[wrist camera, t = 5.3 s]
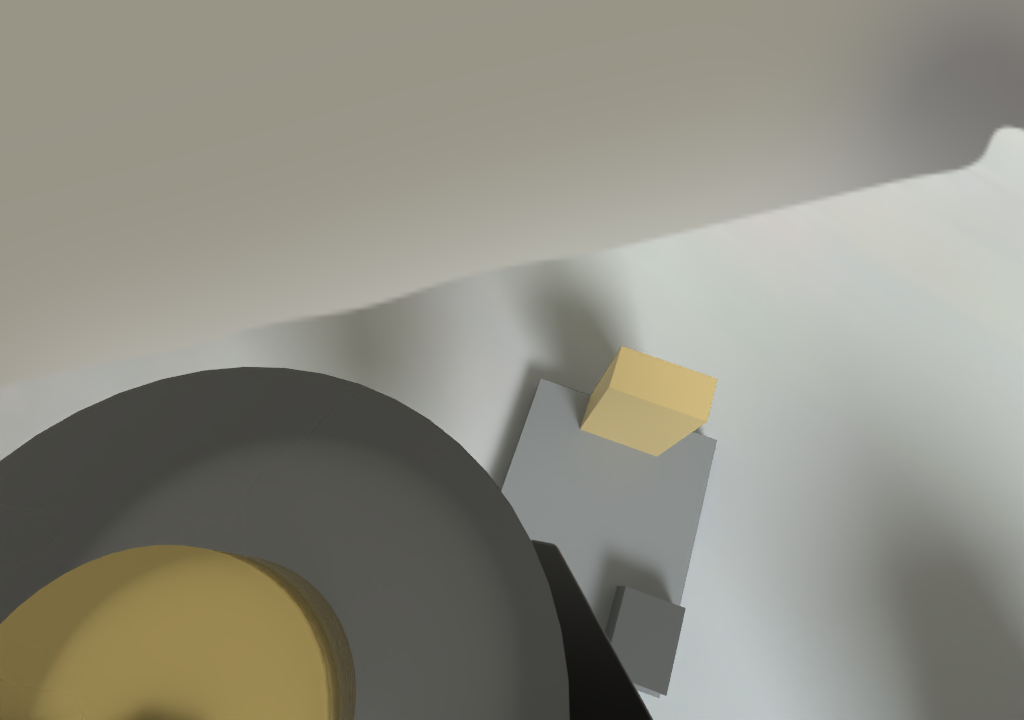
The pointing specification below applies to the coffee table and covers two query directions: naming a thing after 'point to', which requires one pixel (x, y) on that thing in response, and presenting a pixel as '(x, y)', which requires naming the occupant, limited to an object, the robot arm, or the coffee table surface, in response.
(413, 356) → the coffee table surface
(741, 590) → the coffee table surface
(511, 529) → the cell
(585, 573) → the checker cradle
